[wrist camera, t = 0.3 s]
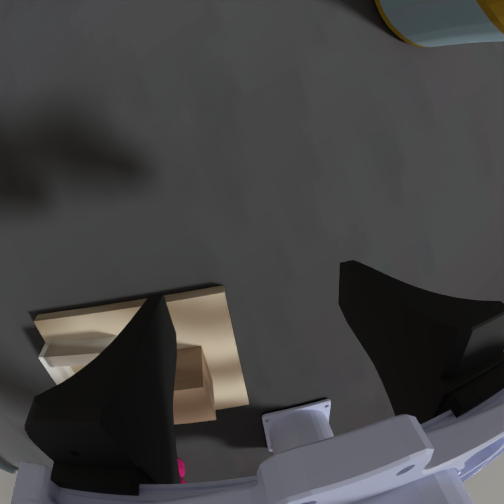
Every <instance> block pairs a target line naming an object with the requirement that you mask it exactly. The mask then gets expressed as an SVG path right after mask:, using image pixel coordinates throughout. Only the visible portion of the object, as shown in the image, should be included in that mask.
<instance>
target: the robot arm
mask: <svg viewBox="0 0 504 504" xmlns="http://www.w3.org/2000/svg"><path fill="white" fill-rule="evenodd" d="M338 303H339V306H340V308H341V310H342V312H343V315H344V317H345V319H346V321H347V323H348V324H349V326H350V327H351V329H352V331H353V332H354V334H355V335H356V337H357V338H358V340H359V341H360V343H361V345H362V346H363V348H364V349H365V351H366V352H367V354H368V355H369V357H370V359H371V360H372V362H373V364H374V366H375V368H376V370H377V372H378V374H379V376H380V378H381V380H382V383H383V385H384V387H385V390H386V392H387V395H388V397H389V399H390V402H391V405H392V408H393V410H394V413H395V416H394V417H390V418H386V419H384V420H381V421H378V422H376V423H373V424H370V425H367V426H364V427H362V428H359V429H356V430H353V431H349V432H346V433H343V434H340V435H337V436H334V435H333V433H332V430H331V428H330V425H329V415H330V406H331V401H330V399H325V400H321V401H318V402H314V403H310V404H306V405H302V406H298V407H294V408H289V409H285V410H281V411H276V412H271V413H266V414H263V415H262V421H263V426H264V431H265V436H266V441H267V445H268V450H269V451H273V454H274V455H273V456H271V457H270V458H268V459H266V460H265V461H263V462H262V463H261V464H260V466H259V469H258V471H257V475H256V476H250V477H244V478H237V479H229V480H221V481H211V482H199V483H184V484H181V479H180V473H179V467H178V459H177V452H176V442H175V431H174V416H173V396H174V384H175V373H176V362H177V338H176V331H175V328H174V325H173V322H172V319H171V316H170V313H169V310H168V307H167V303H166V300H165V297H164V294H161V295H155V296H149V297H148V298H147V300H146V301H145V302H144V303H143V305H142V306H141V307H140V309H139V310H138V311H137V312H136V314H135V315H134V316H133V318H132V319H131V320H130V321H129V323H128V324H127V325H126V326H125V328H124V329H123V330H122V331H121V332H120V333H119V334H118V336H117V337H116V338H115V339H114V340H113V341H112V342H111V343H110V344H109V345H108V346H107V347H106V348H105V349H104V350H103V351H102V352H101V353H100V354H99V355H98V356H97V357H96V358H95V359H93V360H92V361H91V362H90V363H88V364H87V365H86V366H85V367H83V368H82V369H81V370H80V371H78V372H77V373H75V374H74V375H72V376H71V377H70V378H68V379H66V380H65V381H63V382H62V383H60V384H58V385H57V386H55V387H53V388H51V389H49V390H47V391H45V392H43V393H41V394H39V395H37V396H35V398H34V400H33V403H32V406H31V408H30V411H29V414H28V417H27V420H26V423H25V430H26V432H27V434H28V436H29V438H30V439H31V440H32V441H33V442H34V443H35V444H36V445H37V446H38V447H39V448H40V449H41V450H42V451H43V452H44V453H45V454H46V455H47V456H48V457H50V458H51V459H52V460H53V461H54V464H53V469H51V468H49V467H47V466H45V465H41V464H35V463H30V462H26V461H21V462H20V466H19V470H18V474H17V478H16V482H15V487H14V491H13V496H12V502H11V504H474V503H473V501H472V499H471V497H470V495H469V493H468V491H467V490H466V488H465V486H464V484H463V482H464V481H466V480H467V479H469V478H470V477H472V476H473V475H474V474H476V473H477V472H479V471H480V470H481V469H483V468H484V467H485V466H486V465H488V464H489V463H490V462H492V461H493V460H494V459H496V458H497V457H498V456H499V455H501V454H502V453H503V452H504V352H503V350H504V304H503V303H502V302H501V301H479V300H469V299H462V298H456V297H451V296H446V295H441V294H437V293H433V292H430V291H427V290H424V289H420V288H417V287H415V286H412V285H409V284H407V283H404V282H402V281H399V280H397V279H395V278H392V277H390V276H388V275H386V274H384V273H382V272H379V271H377V270H375V269H373V268H371V267H369V266H366V265H364V264H362V263H360V262H357V261H354V260H352V261H347V262H342V263H340V278H339V302H338Z"/></svg>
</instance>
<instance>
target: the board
mask: <svg viewBox="0 0 504 504" xmlns="http://www.w3.org/2000/svg"><path fill="white" fill-rule="evenodd" d="M164 297H165V300H166V303H167V307H168V310H169V313H170V316H171V319H172V322H173V325H174V328H175V331H176V338H177V349H183V348H190V347H197V346H202V349H203V352H204V356H205V359H206V362H207V365H208V368H209V371H210V374H211V377H212V380H213V390H214V401H215V410H218V409H225V408H231V407H237V406H243V405H249V401H248V396H247V391H246V387H245V383H244V378H243V374H242V370H241V365H240V361H239V356H238V352H237V347H236V343H235V338H234V334H233V329H232V324H231V320H230V315H229V310H228V305H227V301H226V296H225V291H224V286H223V285H221V286H216V287H210V288H205V289H199V290H193V291H187V292H182V293H176V294H170V295H164ZM146 300H147V298H146V299H140V300H133V301H127V302H121V303H114V304H108V305H101V306H95V307H88V308H81V309H74V310H67V311H60V312H53V313H46V314H39V315H37V317H36V318H35V320H34V323H35V325H36V327H37V329H38V330H39V332H40V334H41V336H42V337H43V339H44V341H45V345H44V347H43V349H42V351H41V353H40V355H39V357H38V358H39V359H40V361H41V362H42V364H43V365H44V367H45V368H46V370H47V371H48V373H49V374H50V376H51V377H52V379H53V380H54V381H55V383H56V384H57V385H58V384H60V383H62V382H63V381H65V380H66V379H68V378H70V377H71V376H72V375H74V374H75V373H77V372H78V371H80V370H81V369H82V368H83V367H85V366H86V365H87V364H88V363H90V362H91V361H92V360H93V359H95V358H96V357H97V356H98V355H99V354H100V353H101V352H102V351H103V350H104V349H105V348H106V347H107V346H108V345H109V344H110V343H111V342H112V341H113V340H114V339H115V338H116V337H117V336H118V334H119V333H120V332H121V331H122V330H123V329H124V328H125V326H126V325H127V324H128V323H129V321H130V320H131V319H132V318H133V316H134V315H135V314H136V312H137V311H138V310H139V309H140V307H141V306H142V305H143V303H144V302H145V301H146Z"/></svg>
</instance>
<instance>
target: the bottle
mask: <svg viewBox="0 0 504 504" xmlns="http://www.w3.org/2000/svg"><path fill="white" fill-rule="evenodd" d="M375 3H376V6H377V8H378V11H379V13H380V15H381V17H382V18H383V20H384V21H385V23H386V24H387V26H388V27H389V28H390V29H391V30H392V31H393V32H394V33H395V34H396V35H397V36H398V37H400V38H401V39H403V40H404V41H406V42H407V43H409V44H411V45H414V46H418V47H436V46H443V45H452V44H462V43H474V42H491V41H504V0H375Z"/></svg>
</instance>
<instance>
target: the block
mask: <svg viewBox="0 0 504 504" xmlns="http://www.w3.org/2000/svg"><path fill="white" fill-rule="evenodd" d="M173 416H174V425H175V424H186V423H195V422H203V421H211V420H216V412H215V401H214V390H213V380H212V377H211V374H210V371H209V368H208V365H207V362H206V359H205V356H204V352H203V349H202V346H197V347H190V348H183V349H177V362H176V373H175V384H174V396H173Z"/></svg>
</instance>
